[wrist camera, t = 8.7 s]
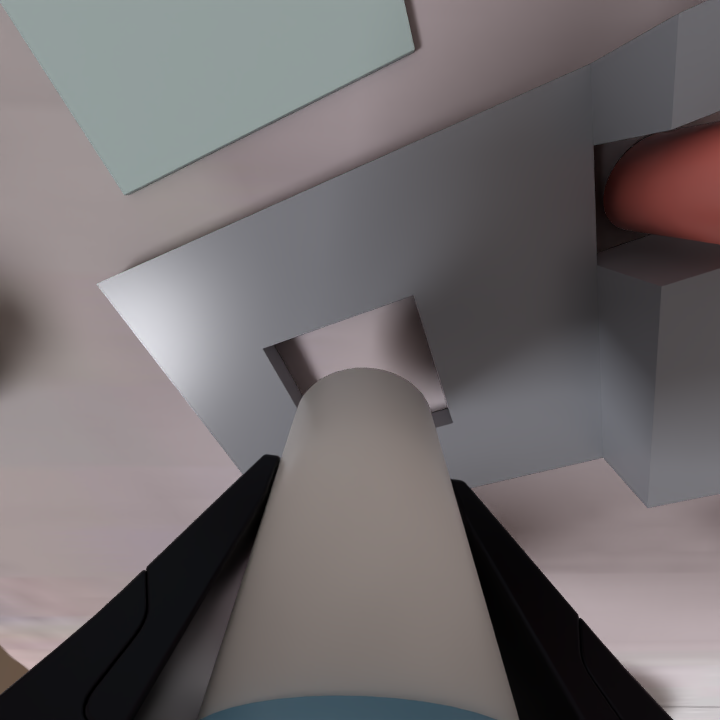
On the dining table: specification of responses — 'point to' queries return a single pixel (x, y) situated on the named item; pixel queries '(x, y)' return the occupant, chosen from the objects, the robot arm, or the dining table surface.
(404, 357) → the dining table surface
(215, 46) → the mat
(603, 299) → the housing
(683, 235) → the plunger button
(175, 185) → the dining table surface
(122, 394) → the dining table surface
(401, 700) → the cartridge
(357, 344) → the dining table surface
